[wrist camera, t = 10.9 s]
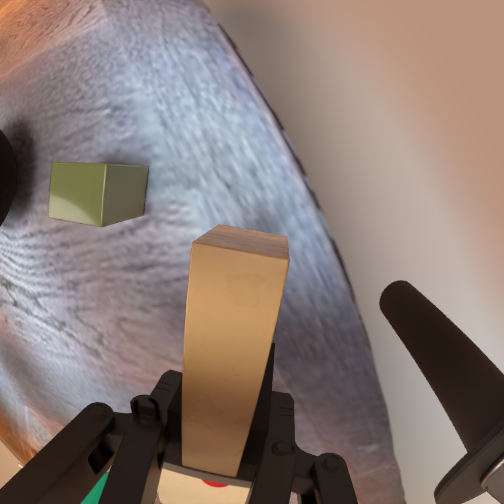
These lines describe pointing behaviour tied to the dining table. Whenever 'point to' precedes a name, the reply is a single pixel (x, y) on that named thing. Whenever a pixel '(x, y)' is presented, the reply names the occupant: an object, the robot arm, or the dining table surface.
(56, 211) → the knife rest
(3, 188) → the decorative ball
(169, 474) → the linen napkin
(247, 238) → the fork
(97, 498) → the candle
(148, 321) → the dining table surface
